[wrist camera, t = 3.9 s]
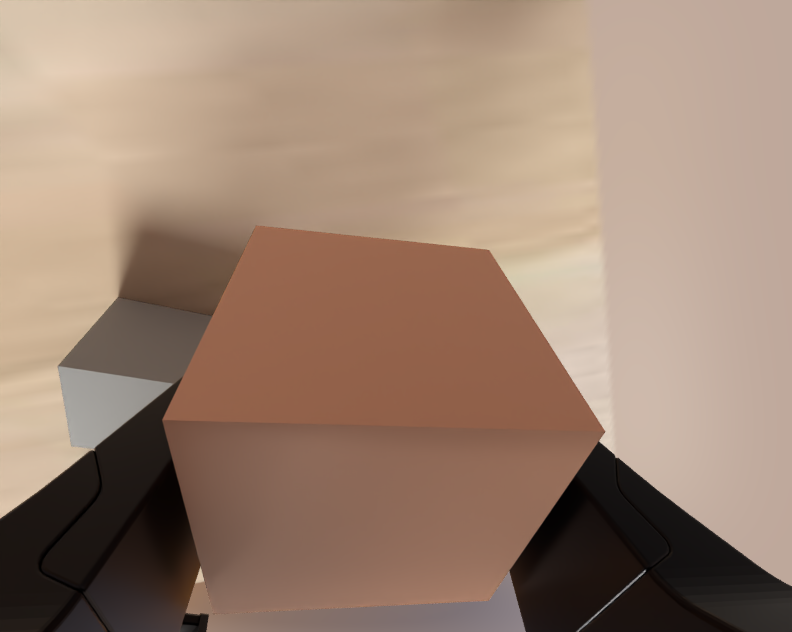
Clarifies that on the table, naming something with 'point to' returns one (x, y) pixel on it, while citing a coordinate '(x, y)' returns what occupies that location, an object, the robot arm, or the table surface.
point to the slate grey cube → (125, 365)
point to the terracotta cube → (369, 426)
